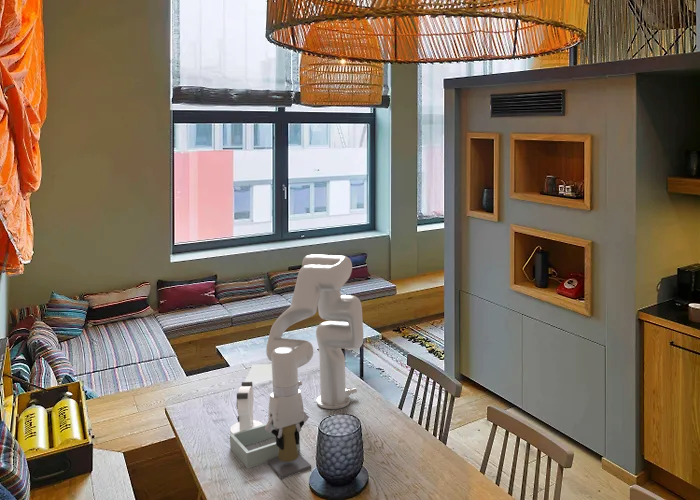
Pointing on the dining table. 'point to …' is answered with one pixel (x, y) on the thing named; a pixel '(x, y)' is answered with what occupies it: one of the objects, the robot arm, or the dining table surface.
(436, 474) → the dining table surface
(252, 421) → the white upright piece
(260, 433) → the box
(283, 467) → the charcoal mat
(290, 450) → the cork
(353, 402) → the dining table surface
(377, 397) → the dining table surface
